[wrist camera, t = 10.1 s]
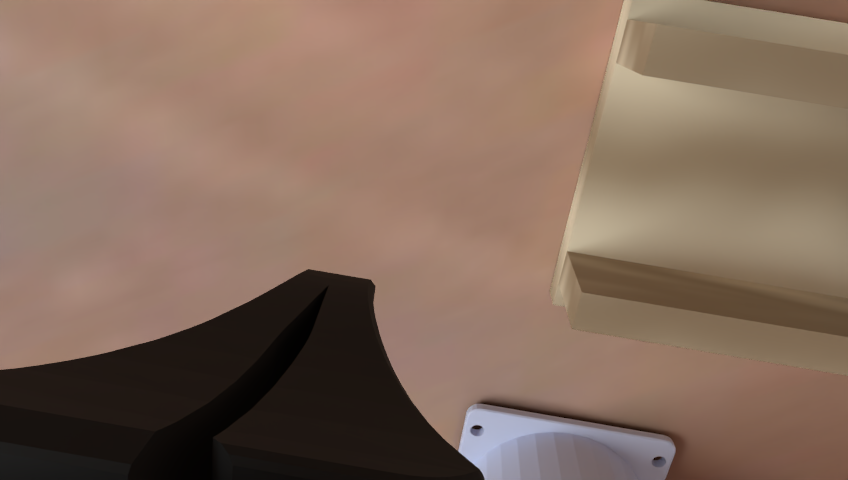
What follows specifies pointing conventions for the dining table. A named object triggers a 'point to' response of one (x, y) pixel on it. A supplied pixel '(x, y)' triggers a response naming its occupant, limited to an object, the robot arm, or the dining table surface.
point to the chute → (716, 187)
